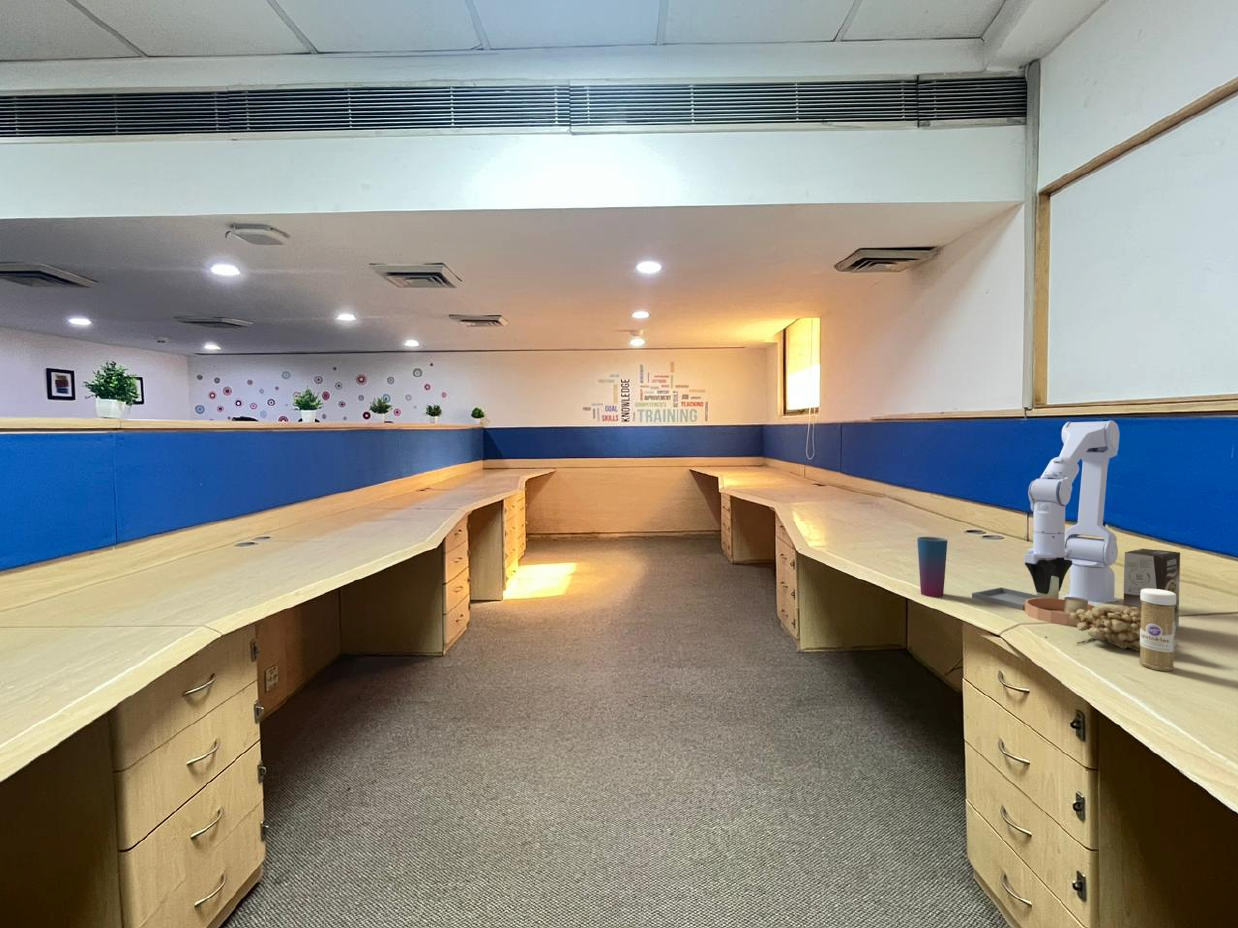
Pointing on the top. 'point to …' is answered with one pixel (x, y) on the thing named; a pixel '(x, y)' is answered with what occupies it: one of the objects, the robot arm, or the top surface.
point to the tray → (1004, 597)
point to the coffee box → (1151, 575)
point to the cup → (932, 565)
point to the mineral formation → (1113, 625)
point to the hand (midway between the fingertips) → (1048, 591)
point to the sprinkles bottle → (1157, 629)
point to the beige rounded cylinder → (1074, 604)
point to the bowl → (1050, 611)
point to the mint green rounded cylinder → (1052, 589)
